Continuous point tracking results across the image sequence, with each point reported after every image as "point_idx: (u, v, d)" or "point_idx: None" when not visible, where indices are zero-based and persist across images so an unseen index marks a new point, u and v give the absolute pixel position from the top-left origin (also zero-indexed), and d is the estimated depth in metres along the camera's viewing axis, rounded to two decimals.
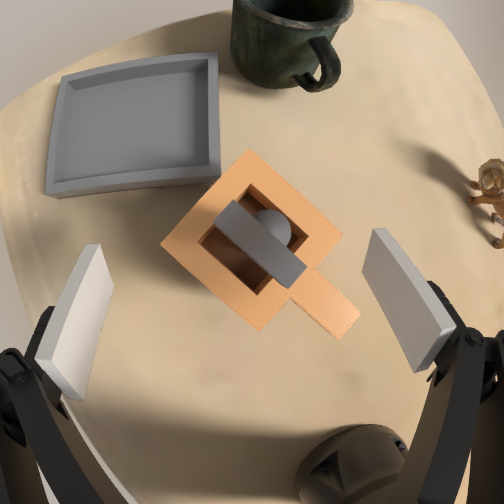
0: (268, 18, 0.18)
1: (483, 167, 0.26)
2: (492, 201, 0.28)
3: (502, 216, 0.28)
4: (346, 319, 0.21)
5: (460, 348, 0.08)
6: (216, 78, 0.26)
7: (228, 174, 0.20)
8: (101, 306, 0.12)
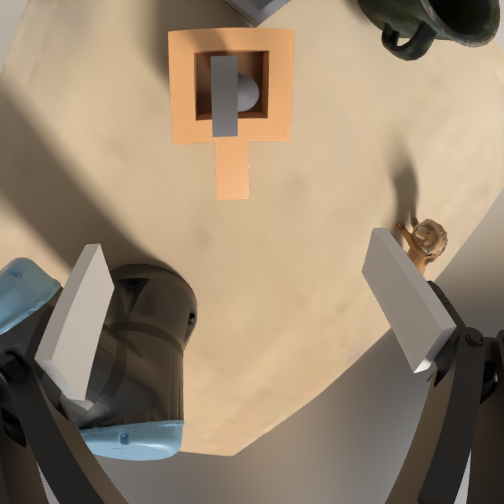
0: None
1: (430, 222, 0.33)
2: (411, 245, 0.37)
3: None
4: (235, 192, 0.25)
5: (460, 348, 0.08)
6: None
7: (261, 31, 0.17)
8: (101, 306, 0.12)
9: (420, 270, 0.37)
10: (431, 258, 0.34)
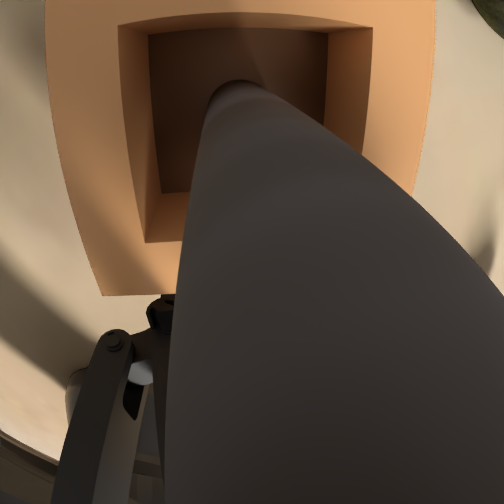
0: None
1: None
2: None
3: None
4: None
5: None
6: None
7: None
8: None
9: None
10: None
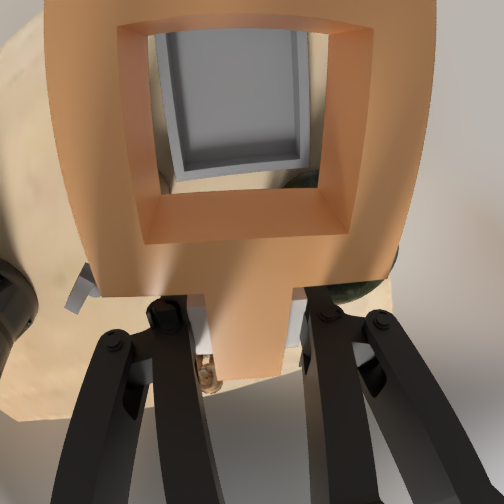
0: None
1: (214, 371, 0.46)
2: None
3: None
4: (253, 370, 0.11)
5: (314, 331, 0.09)
6: (275, 168, 0.31)
7: None
8: None
9: None
10: (204, 391, 0.47)
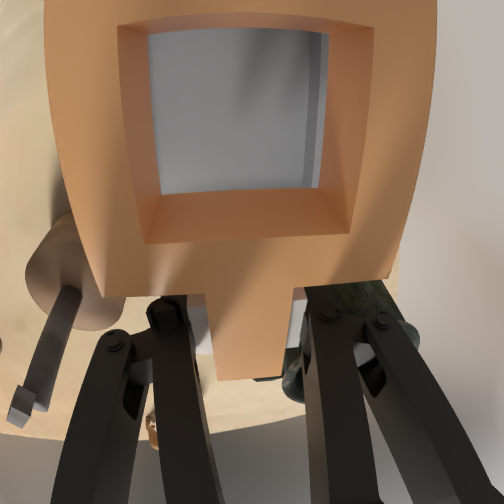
0: (297, 361, 0.19)
1: None
2: None
3: None
4: (254, 370, 0.11)
5: (314, 331, 0.09)
6: None
7: None
8: None
9: None
10: None
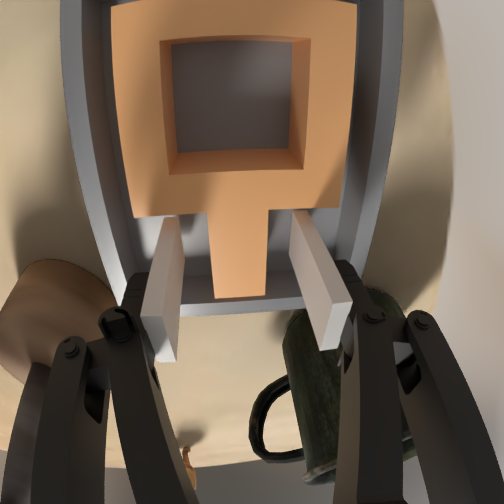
0: (325, 467, 0.13)
1: None
2: None
3: None
4: (243, 287, 0.15)
5: (359, 330, 0.09)
6: (296, 306, 0.18)
7: (296, 0, 0.08)
8: (180, 274, 0.14)
9: None
10: None
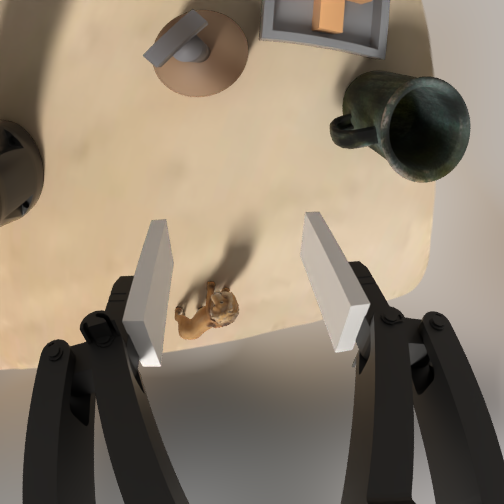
0: (394, 94, 0.21)
1: (230, 296, 0.41)
2: (206, 304, 0.44)
3: (196, 314, 0.45)
4: (333, 25, 0.24)
5: (376, 331, 0.09)
6: (356, 50, 0.26)
7: None
8: (168, 278, 0.14)
9: (201, 328, 0.44)
10: (214, 324, 0.42)
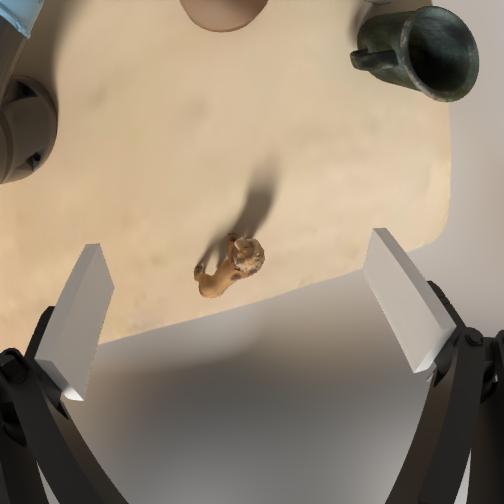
0: (408, 18, 0.19)
1: (255, 242, 0.39)
2: (228, 255, 0.42)
3: (218, 269, 0.43)
4: None
5: (460, 348, 0.08)
6: None
7: None
8: (101, 306, 0.12)
9: (225, 282, 0.42)
10: (239, 274, 0.40)
